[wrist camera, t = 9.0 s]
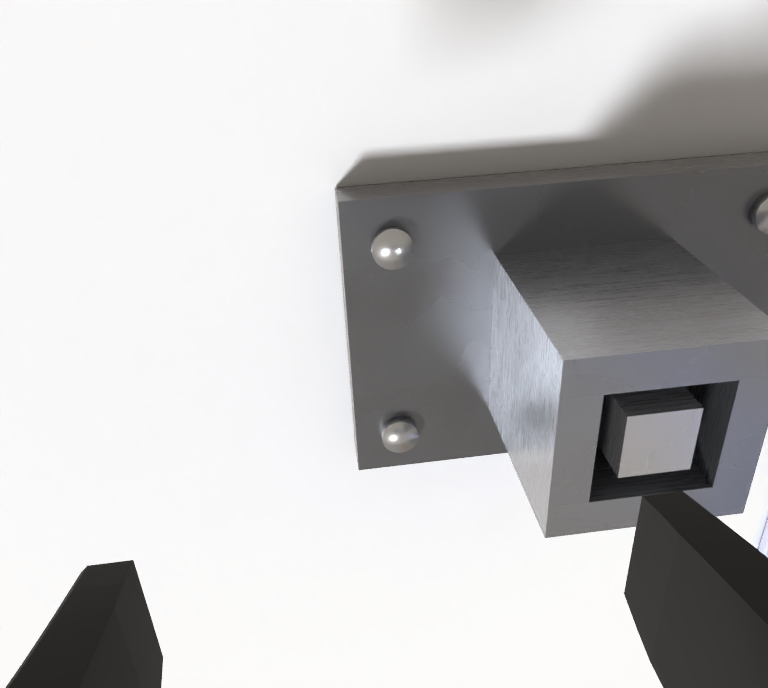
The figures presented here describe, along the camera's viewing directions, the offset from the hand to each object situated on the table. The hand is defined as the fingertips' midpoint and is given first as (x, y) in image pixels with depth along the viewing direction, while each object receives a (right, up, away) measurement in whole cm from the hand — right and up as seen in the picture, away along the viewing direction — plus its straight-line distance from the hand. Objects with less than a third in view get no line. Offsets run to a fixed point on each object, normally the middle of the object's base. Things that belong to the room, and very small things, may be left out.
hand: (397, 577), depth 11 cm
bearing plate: (+5, +4, +10) cm, 12 cm away
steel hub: (+5, +4, +9) cm, 11 cm away
